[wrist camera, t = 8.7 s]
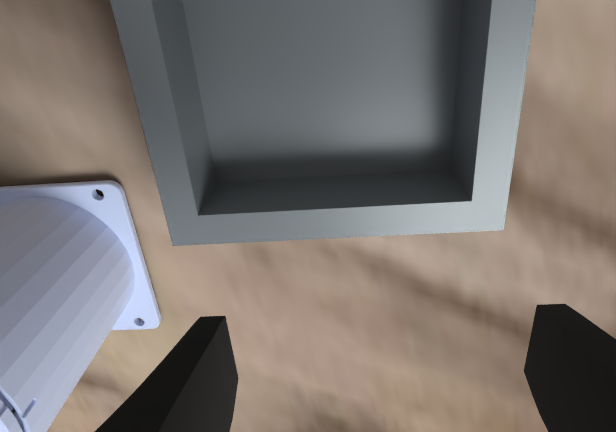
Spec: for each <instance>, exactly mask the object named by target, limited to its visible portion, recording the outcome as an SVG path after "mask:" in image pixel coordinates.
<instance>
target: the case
mask: <svg viewBox="0 0 616 432" xmlns="http://www.w3.org/2000/svg"><path fill="white" fill-rule="evenodd" d="M110 3H111V6H112V10H113V14H114V18H115V22H116V26H117V30H118V34H119V38H120V42H121V46H122V49H123V53H124V57H125V61H126V65H127V69H128V73H129V77H130V81H131V85H132V89H133V93H134V96H135V100H136V104H137V108H138V112H139V116H140V120H141V124H142V128H143V132H144V136H145V139H146V143H147V147H148V151H149V155H150V159H151V163H152V167H153V171H154V175H155V179H156V182H157V186H158V190H159V194H160V198H161V202H162V206H163V210H164V214H165V218H166V222H167V226H168V229H169V233H170V237H171V241H172V245H173V246H179V245H200V244H221V243H242V242H263V241H284V240H305V239H326V238H347V237H368V236H389V235H410V234H431V233H452V232H473V231H494V230H504V223H505V216H506V209H507V202H508V195H509V188H510V181H511V174H512V167H513V160H514V153H515V146H516V138H517V131H518V124H519V117H520V110H521V103H522V96H523V89H524V82H525V75H526V68H527V61H528V54H529V47H530V40H531V33H532V26H533V19H534V12H535V5H536V0H110Z"/></svg>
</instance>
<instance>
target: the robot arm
mask: <svg viewBox="0 0 616 432" xmlns="http://www.w3.org/2000/svg"><path fill="white" fill-rule="evenodd" d="M96 189H98V190H100V191H102V192H103V194H104V197H103V196H100V195H98V194H97V192H96ZM138 318H141V319H143V320H144V321H141V320H139V319H138ZM160 321H161V315H160V311H159V308H158V305H157V301H156V298H155V294H154V291H153V288H152V284H151V281H150V278H149V274H148V271H147V267H146V264H145V261H144V257H143V254H142V250H141V247H140V244H139V240H138V237H137V233H136V230H135V227H134V223H133V220H132V217H131V213H130V210H129V206H128V203H127V200H126V196H125V193H124V190H123V188H122V186H121V185H120V184H119V183H117V182H115V181H111V180H106V181H89V182H72V183H55V184H38V185H22V186H5V187H0V432H46V431H47V430H48V428H49V427H50V425H51V424H52V422H53V420H54V419H55V417H56V416H57V414H58V413H59V411H60V409H61V408H62V406H63V405H64V403H65V402H66V400H67V398H68V397H69V395H70V394H71V392H72V391H73V389H74V387H75V386H76V384H77V383H78V381H79V380H80V378H81V376H82V375H83V373H84V372H85V370H86V369H87V367H88V365H89V364H90V362H91V361H92V359H93V358H94V356H95V354H96V353H97V351H98V350H99V348H100V347H101V345H102V343H103V342H104V340H105V339H106V337H107V336H108V334H109V332H110V331H111V330H130V329H153V328H156V327H158V325H159V323H160ZM524 373H525V375H526V378H527V381H528V384H529V387H530V390H531V392H532V395H533V398H534V400H535V403H536V406H537V408H538V411H539V413H540V416H541V418H542V420H543V422H544V424H545V426H546V428H547V430H548V432H616V339H614V338H613V337H612V336H610V335H609V334H607V333H606V332H605V331H603V330H602V329H600V328H599V327H598V326H596V325H595V324H593V323H592V322H591V321H589V320H588V319H586V318H585V317H584V316H582V315H581V314H579V313H578V312H576V311H575V310H573V309H572V308H570V307H569V306H567V305H566V304H548V305H537V307H536V312H535V317H534V322H533V327H532V332H531V337H530V342H529V347H528V352H527V357H526V363H525V368H524ZM237 384H238V374H237V369H236V365H235V360H234V355H233V350H232V346H231V341H230V336H229V331H228V327H227V322H226V317H225V316H209V317H200V318H199V319H198V320H197V321H196V322H195V323H194V324H193V326H192V327H191V328H190V329H189V330H188V331H187V333H186V334H185V335H184V336H183V337H182V338H181V340H180V341H179V342H178V343H177V344H176V345H175V347H174V348H173V349H172V350H171V351H170V352H169V354H168V355H167V356H166V357H165V358H164V359H163V361H162V362H161V363H160V364H159V365H158V366H157V367H156V368H155V370H154V371H153V372H152V373H151V374H150V375H149V376H148V377H147V378H146V380H145V381H144V382H143V383H142V384H141V385H140V386H139V387H138V388H137V389H136V390H135V392H134V393H133V394H132V395H131V396H130V397H129V398H128V399H127V400H126V401H125V402H124V403H123V404H122V405H121V406H120V407H119V408H118V409H117V410H116V411H115V412H114V413H113V414H112V415H111V416H110V417H109V418H108V419H107V420H106V421H105V422H104V423H103V424H102V425H101V426H100V427H99V428H98V429H97V430H96V431H95V432H229V431H230V427H231V423H232V418H233V412H234V405H235V398H236V391H237Z"/></svg>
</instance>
